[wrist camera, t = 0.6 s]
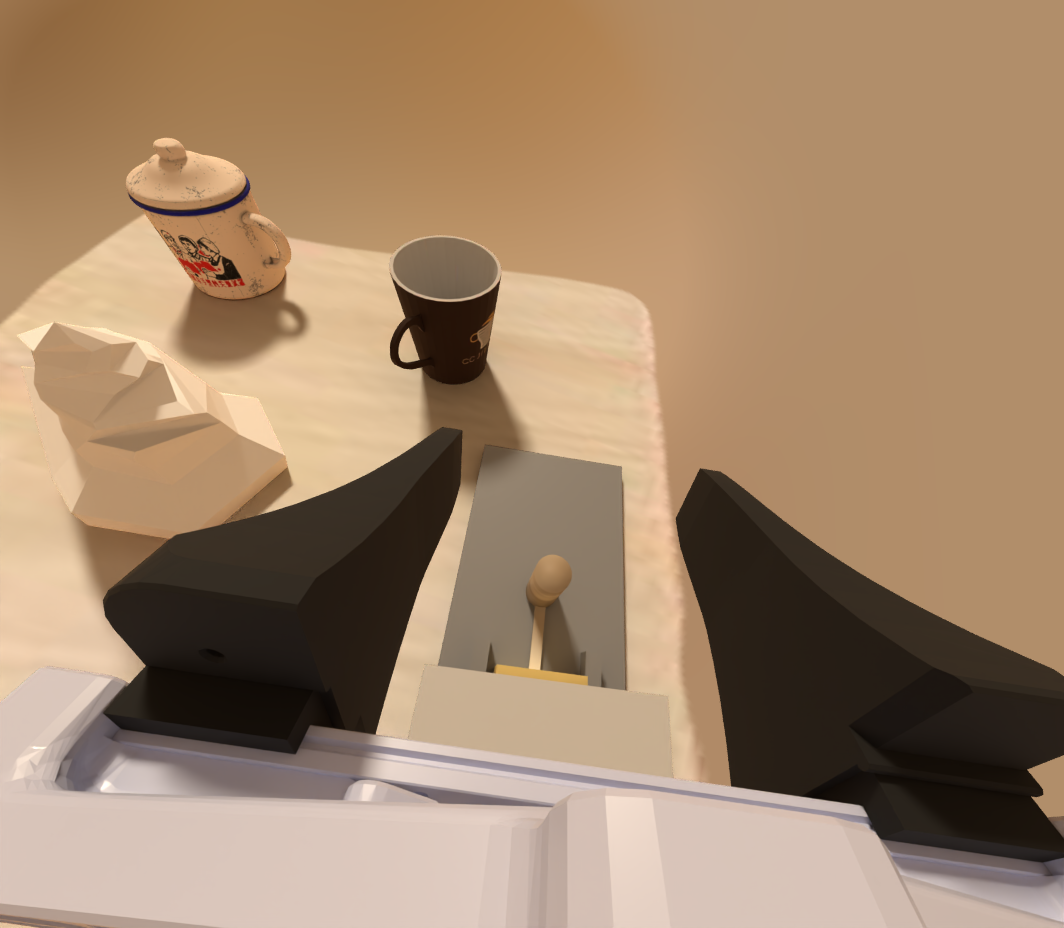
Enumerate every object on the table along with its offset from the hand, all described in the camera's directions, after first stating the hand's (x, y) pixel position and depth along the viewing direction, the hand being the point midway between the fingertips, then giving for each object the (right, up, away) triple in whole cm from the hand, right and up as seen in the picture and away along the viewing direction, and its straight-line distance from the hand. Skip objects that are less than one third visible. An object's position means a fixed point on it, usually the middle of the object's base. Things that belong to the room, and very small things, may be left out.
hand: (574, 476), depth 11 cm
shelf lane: (-1, -10, +16) cm, 18 cm away
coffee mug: (-10, +10, +26) cm, 30 cm away
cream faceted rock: (-28, +1, +18) cm, 33 cm away
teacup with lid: (-31, +20, +29) cm, 47 cm away
